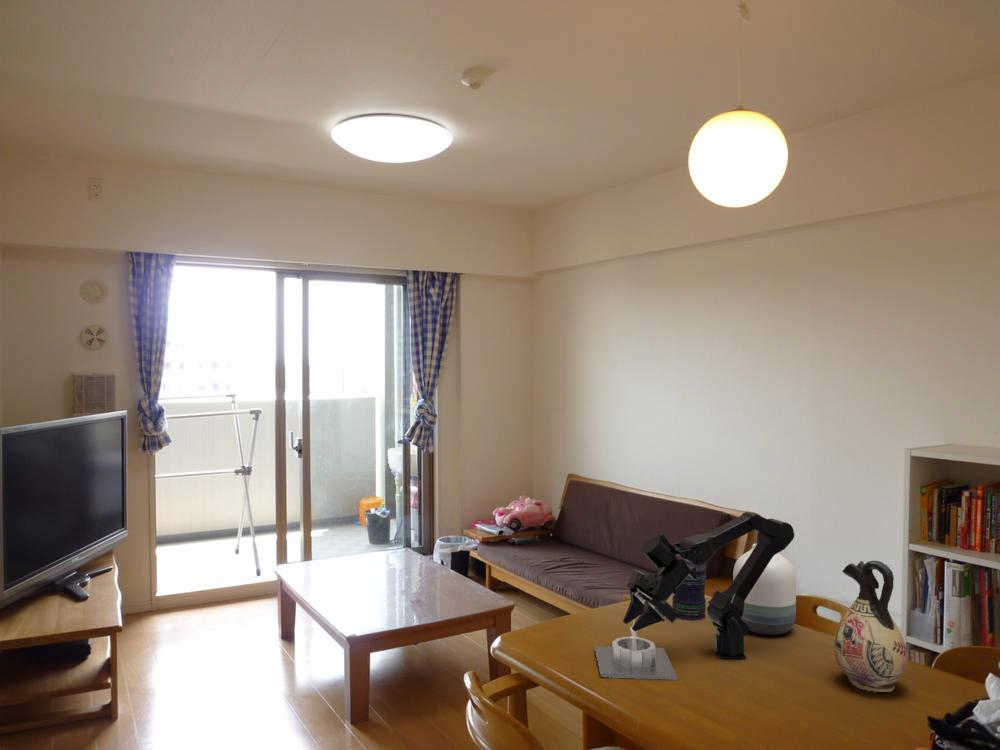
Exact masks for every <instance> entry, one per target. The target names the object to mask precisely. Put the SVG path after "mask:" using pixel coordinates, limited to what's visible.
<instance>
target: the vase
mask: <svg viewBox="0 0 1000 750" xmlns="http://www.w3.org/2000/svg"><path fill="white" fill-rule="evenodd" d="M756 545H757V543H753V544H752V545H751V548H750V550H748V551H746V552H745V553H744V554H741V556H739V558H738V559H736V562H735V564H734V566H733V570H732V571H733V572H732V573H733V574H732V581H733V580H734V579H735V577H736V576H737V574H738V573H739V571H740V570H741V568H742V567H743V565H744V564H745V562H746V560H747V559H748V557H749V556H750V554H751V553H752V551H753V550H754V548H755V547H756ZM793 566H794V565H792V563H791V562H790V561H789V560H788V559H787V558H786V557H784V556H783V555H782V554H781V552H779V553H777V554H775V555H774V556H773V557H772V559H771V561H770V562H769V564H768V565H767V567H766V568H765V570H764V571H763V573H762V574H761V576H760V578H759V579H758V581H757V582H756V584H755V585H754V587H753V588H752V590H751V591H750V593H749V595H748V596H747V598H746V599H745V601H744V613H743V615H742V617H741V620H742V621H743V622H744V623H745V624H746V625H747V626H748V627H749V630H748V632H750V633H755V634H760V635H765V636H778V635H782V634H783V635H784V634H786V633H788V632H790V631H791V630H792V629H793V627H794V625H795V623H796V622H795V621H796V613H797V579H796V571H795V568H794V567H793Z"/></svg>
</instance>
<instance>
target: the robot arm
mask: <svg viewBox="0 0 1000 750" xmlns="http://www.w3.org/2000/svg"><path fill="white" fill-rule="evenodd" d="M752 531H756V532H757V537H756V538H757V539H756V544H757V545H756V547H755V548H754V550H753V551H752V553H751V554H750V556H749V557H748V559H747V560H746V562H745V564H744V565H743V567H742V568H741V570H740V571H739V573H738V574H737V576H736V577H735V579H734V580H733V579H732V582H731V583H730V585H729V586H728V587H727V589H726V590H724V591H720V590H716V591H715V592H714V594H713V596H712V598H711V599H710V600H709V601H708V602H707V603H708V606H707V607H706V611H707V615H708V619H710V620H711V622H712V625H713V626H714V627H715V628H716V633H715V634H714V645H713V646H714V647H713V648H714V651H715V653H716V654H717V656H718V657H719V658H720V659H730V660H733V659H734V660H739V659H740V660H745V659H746V658H747V657H746V655H745V654H744V653H745V645H744V643H745V642H744V641H745V636H747V635H749V631H748V630H749V627H748V626H747V625H746V624H745V623H744V622H743V621H742V620H741V617H742V615H743V613H744V601H745V599H746V598H747V596H748V595H749V593H750V591H751V590H752V588H753V587H754V585H755V584H756V582H757V581H758V579H759V578H760V576H761V574H762V573H763V571H764V570H765V568H766V567H767V565H768V564H769V562H770V561H771V559H772V557H773V556H774V555H775V554H777V553H781V552H782V551H783V550H784V551H785V549H786V548H787V547H788V546H789V545H790V544H791V543H792V541H793V540H794V538H795V536H796V535H795V531H794V527H793V526H792V525H791V523H789V522H786V521H782V520H779V519H775V518H766V517H763V516H761V515H759V514H758V513H755V512H751V511H745V512H743V513H742V514H741V515H739V516H737V517H736V518H734V519H732V520H730V521H727V522H726V523H724V524H722V525H720V526H718V527H716V528H715V529H712V530H710V531H709V532H706V533H702V534H696V535H695V534H694V535H690V536H688V537H685V538H682V540H680V541H679V542H676V543H671V542H670V541H669V540H668V538H667V537H666V536H665V535H664V534H662V533H658V534H657V535H655V536H653V537H651V538H649V539H647V540H646V541H645V542H644V543H643V545H642V547H641V553H643V555H645V556H646V558H647V559H648V560H649V561H650V562H651V563H652V564H653V565H654V566H655V567H656V568H658V569H659V568H660V569H661V568H662V569H661V570H660V571H659V572H658V573H656V572H653V573H650V572H649V571H648V572H645V573H644V572H643V571H639V570H638V569H635V568H632V570H631V573H630V574H629V577H628V581H629V582H628V583H627V584H626V585H625V588H626V589H627V590H628V595H630V596H629V597H630V603H629V605H628V607H627V610H626V613H625V615H624V617H623V620H622V622H623V623H624V625H627V624H629V623H631V622H633V620H635V619H637V620H635V624H634V626H633V625H632V626H633V627H632V629H633V630H634V631H637V632H638V631H640V630H642V629H644V628H646V627H647V628H648V627H649V626H650V627H651V626H652V625H655V624H657V623H660V622H665V621H668V622H669V623H671V624H673V623H674V622H675V621H676V620H677V619H678V618H677V612H676V611H675V610H674V609H673V606H672V605H671V604H669V603H668V600H669V598H671V596H673V595H675V596H676V594H677V593H678V592H677V591H676V589H677V588H678V587H679V586H680V584H681V583H682V582H683V581H684V580H685V578H686V577H687V576H690V577H692V578H694V579H696V578H697V576H696V568H695V567H693V566H689V565H688V564H687V563H686V561H687V562H689V563H693V564H696V565H704V564H705V563H706V562H708V561H709V560H710V559H711V558H712V557H714V555H715V553H716V552H717V550H719V549H721V548H722V547H724V546H726V545H728V544H730V543H732V542H734V541H736V540H737V539H739V538H741V537H742V536H743V537H744V536H745V535H747V534H748V533H751V532H752ZM676 556H677V557H679V558H681V559H678V558H677V557H676ZM685 560H686V561H685ZM664 618H665V619H664Z"/></svg>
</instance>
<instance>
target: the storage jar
mask: <svg viewBox="0 0 1000 750" xmlns="http://www.w3.org/2000/svg"><path fill="white" fill-rule="evenodd" d="M685 562H686V561H685ZM686 563H687V564H688V565H689V566H693V567H695V568H696V576H697V578H696V579H694V578H692V577H690V576H687V577H686V578H685V580H684V581H683V582H682V583H681V584H680V586H679V587H678V588H677V589H676V591H677V592H678V593H677V594H676V596H675V595H674V594H672V598H671V599H672V605H671V607H672V608H673V609H674V610H675V611H676V612H677V619H679V620H682V621H683V620H684V621H691V622H698V621H703V620H704V618H705V619H706V610H707V604H706V603H707V601H706V596H705V595H706V593H705V591H706V590H705V589H706V588H705V587H706V586H707V585H706V584H707V582H706V580H707V575H706V566H705V565H704V564H701V565H696V564H693V563H691V562H689V561H687V562H686ZM702 619H703V620H702Z"/></svg>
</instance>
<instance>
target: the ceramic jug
mask: <svg viewBox="0 0 1000 750" xmlns="http://www.w3.org/2000/svg"><path fill="white" fill-rule="evenodd" d="M873 570H875V571H878V572H879V573H880V574H881V575H882V579H883V580H882V581H883V585H882V588H881V592H880V593H881V594H880V597H879V598H878V596H877V595H878V594H877V591H876V590H878V589H879V588H880V584H879V582H878V580H877V578H876V576H875V575H874V571H873ZM842 573H843V575H846V576H847V577H849V578H851V579H852V580H854V581H855V582H856V583H857V584H858V585H859V592H858V596H857V597H856V599H855V600H854V602H853V603H852V604H851V605H850V606H849V608H848V609H847V611H845V614H844V615H843V617H842V618H841V620H840V622H839V623H838V625H837V628H836V633H835V636H834V642H833V653H834V654H833V655H834V656H835V657H834V658H835V661H836V663H837V664H838V666H839V668H840V669H841V670H842V671H843V673H844V674H845V675H846V677H847V678H848V681H849V680H850V681H849V683H850V682H851V683H852V684H853V685H854V686H853V685H852V686H853V687H855V686H857V687H858V688H861V689H864V690H867V691H866V692H870V691H874V692H873V693H876V692H890V693H892V692H893V691H894V690H895V684H896V683H897V682H898V681H900V680H901V678H903V676H904V674H905V673H906V671H907V669H908V668H907V666H908V650H907V647H906V643H905V640H904V637H903V635H902V633H901V631H900V629H899V627H898V626H897V624H896V622H895V620H894V619H893V618H892V616H891V614H890V611H889V602H890V600H891V597H892V594H893V590H894V581H895V579H894V573H893V571H892V570H891V568H890V567H889V566H888V565H887V564H885V563H884V562H882V561H880V560H869V561H867V562H865V563H864V561H862V560H860V562H859V563H857V565H856V564H854V563H851V562H850V563H848V565H846V566H845V567H844V569H843V570H842ZM858 688H857V689H858ZM861 689H860V690H861ZM893 689H894V690H893ZM864 690H863V691H864ZM891 691H892V692H891Z"/></svg>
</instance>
